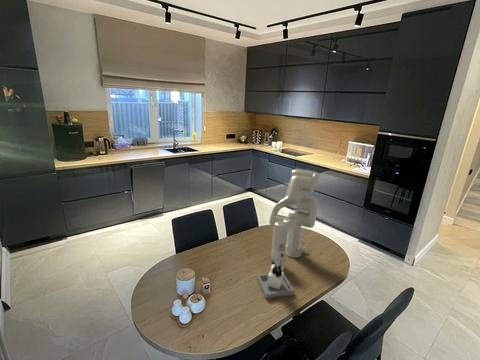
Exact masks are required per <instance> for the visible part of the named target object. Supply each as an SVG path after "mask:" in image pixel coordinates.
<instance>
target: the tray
mask: <svg viewBox="0 0 480 360" xmlns="http://www.w3.org/2000/svg"><path fill="white" fill-rule="evenodd" d="M269 273H270V272H268V273H260V274H256V280H257V282H258V285H259V287H260V289H261V292H262V294H263V296H264V298H265V299H266V300H269V299H277V298H282V297H289V296H294V295H295V289H294V287H293V286H292V284H291V283H290V281H289V279H288V278H287V276H286V275H285V274H284V275H283V283H282V285H281V287H280V289H279V290H278V289H275V288H272V287H269V286H267V280H268V274H269Z"/></svg>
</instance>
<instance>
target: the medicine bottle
mask: <svg viewBox="0 0 480 360" xmlns="http://www.w3.org/2000/svg"><path fill="white" fill-rule="evenodd" d="M271 265H272V264H271ZM271 265H270V266H271ZM279 268H281V266H279ZM276 270H277V266H276V264H273V265H272V266H271V267H270V271H269V272H268V273H269V274H268V273H267V274H268V280H267V286H269V287H272V288H275V289H278V290H279V289H280V287H281V285H282V283H283V275H285V273H284V271H282V276H280V277H276Z"/></svg>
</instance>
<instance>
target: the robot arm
mask: <svg viewBox="0 0 480 360" xmlns="http://www.w3.org/2000/svg"><path fill="white" fill-rule="evenodd" d="M319 181H320V174H319V173H318V172H316V171H311V170H306V169H299V168H298V169H297V168H295V169H292V170H291V172H290V179H289V182H288V185H287V188H286V191H285V194H284V195H285V196H284V197H283V198H282V199H280V200H279V201H278V202H277V203H276V204H275V205H274V206H273V208H272V211H271V213H270V217H269V226H270V227H271V228H273V230H272V231H273V232H272V242H271V253H270V256H271V265H270V266H272V265H273V264H276V266H277V270H276V277H280V276H282V272H284V270H285V268H284V266H285V267H286V264H287V257H288V258H289V257H290V258H293V259H294V258H295V259H296V258H300V257H301V256H302V255H303V251H307V246H303V245H302V239H303V238H302V237H303V228H302V227H304V228H309V229H312V228H314V226H315V224H316V219H317V213H318V208H319V207H318V206H319V205H318V204H319V202H318V199H317V198H316V197H314V196H309V195H308V193H313V192H314V190H315V189H316V187H317V185H318V184H319ZM289 206H290V207H291V206H293V208H295V209H292V210H289V211H288V216H286V215H280V214H278V213H279V212H280V210H281V209H283V208H285V207H289ZM286 244H287V252H286ZM279 264H280V265H279ZM279 266H281V268H279Z"/></svg>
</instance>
